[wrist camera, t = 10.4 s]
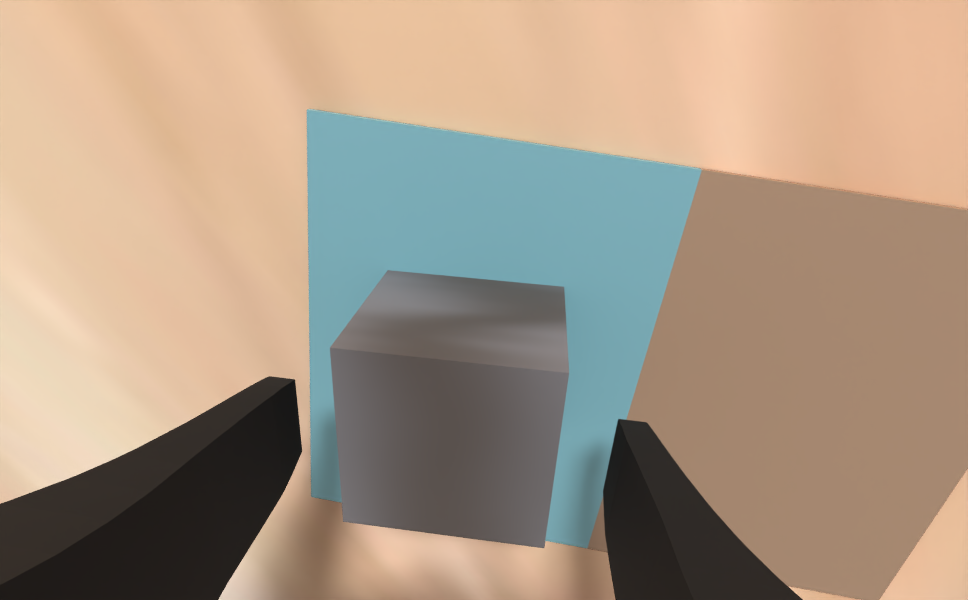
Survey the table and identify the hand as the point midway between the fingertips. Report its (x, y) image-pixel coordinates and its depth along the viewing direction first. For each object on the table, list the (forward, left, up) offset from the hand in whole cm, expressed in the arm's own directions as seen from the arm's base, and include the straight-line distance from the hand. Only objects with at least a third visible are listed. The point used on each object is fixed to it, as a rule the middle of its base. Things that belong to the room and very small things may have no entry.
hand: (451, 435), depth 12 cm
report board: (-4, 0, -3) cm, 6 cm away
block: (0, 0, -3) cm, 3 cm away
